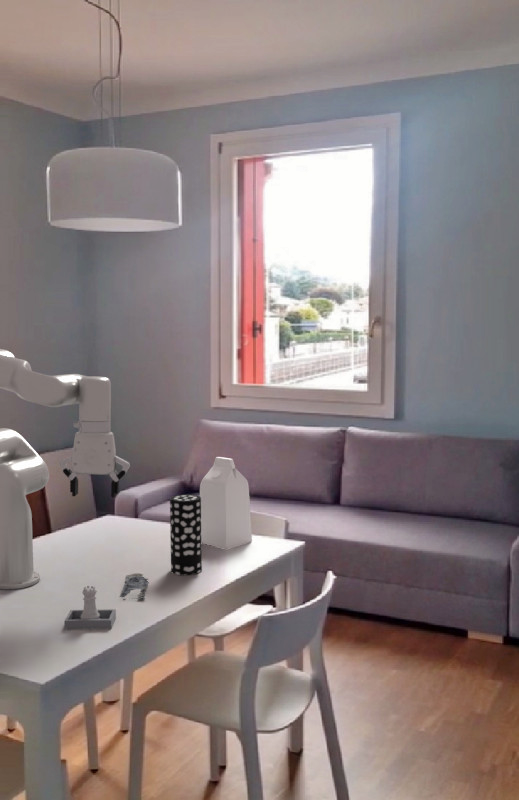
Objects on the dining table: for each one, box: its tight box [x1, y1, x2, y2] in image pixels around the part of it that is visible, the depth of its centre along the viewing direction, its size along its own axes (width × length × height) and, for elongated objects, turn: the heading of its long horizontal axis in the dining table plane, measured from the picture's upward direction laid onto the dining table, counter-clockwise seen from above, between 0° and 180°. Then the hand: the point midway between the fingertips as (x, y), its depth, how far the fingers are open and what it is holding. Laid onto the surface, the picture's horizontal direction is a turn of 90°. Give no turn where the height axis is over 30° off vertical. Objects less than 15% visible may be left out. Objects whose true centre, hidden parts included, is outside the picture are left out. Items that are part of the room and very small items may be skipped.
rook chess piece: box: [80, 585, 100, 620], centre depth 181 cm, size 4×4×8 cm
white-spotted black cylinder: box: [169, 494, 203, 576], centre depth 218 cm, size 8×8×20 cm
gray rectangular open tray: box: [64, 608, 117, 630], centre depth 181 cm, size 10×7×2 cm, turn 92°
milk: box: [199, 456, 253, 550], centre depth 246 cm, size 12×12×26 cm
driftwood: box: [119, 572, 150, 602], centre depth 206 cm, size 21×7×2 cm, turn 2°
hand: (94, 495), depth 199 cm, fingers open, 9 cm apart
